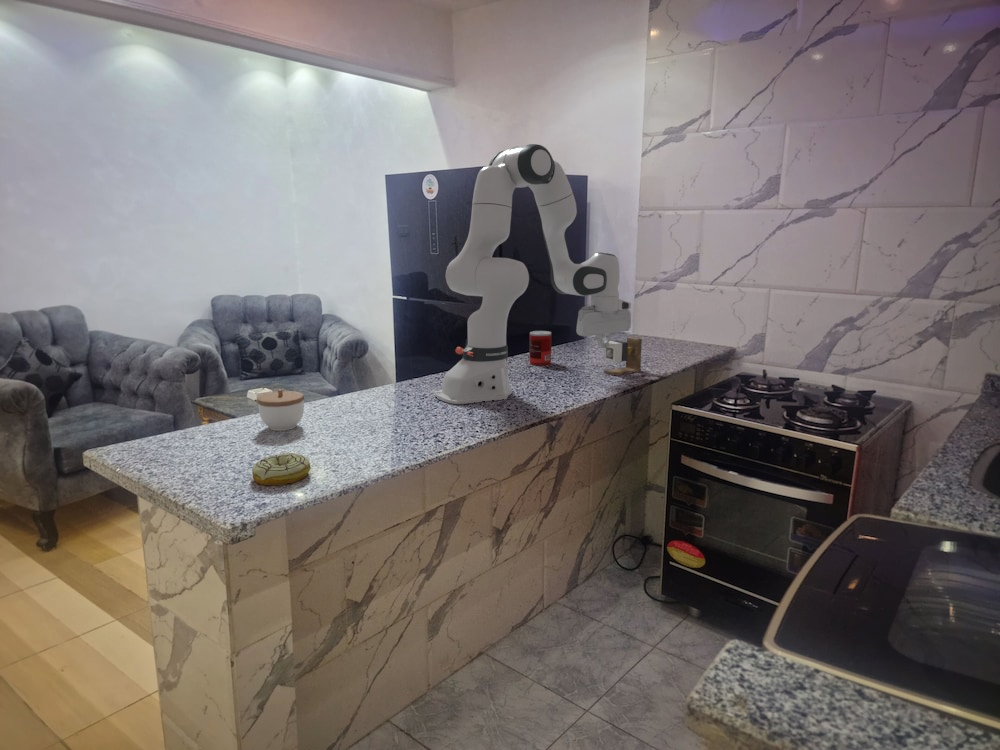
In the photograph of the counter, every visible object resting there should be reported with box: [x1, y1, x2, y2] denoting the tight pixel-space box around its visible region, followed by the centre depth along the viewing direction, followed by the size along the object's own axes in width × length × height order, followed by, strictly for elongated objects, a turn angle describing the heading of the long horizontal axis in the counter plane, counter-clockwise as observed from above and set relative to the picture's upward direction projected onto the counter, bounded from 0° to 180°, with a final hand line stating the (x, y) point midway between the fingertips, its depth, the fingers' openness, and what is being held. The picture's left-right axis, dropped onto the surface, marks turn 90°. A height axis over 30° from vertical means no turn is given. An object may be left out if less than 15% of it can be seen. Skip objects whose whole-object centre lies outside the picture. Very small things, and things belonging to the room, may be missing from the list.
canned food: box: [529, 330, 553, 366], centre depth 233 cm, size 8×8×11 cm
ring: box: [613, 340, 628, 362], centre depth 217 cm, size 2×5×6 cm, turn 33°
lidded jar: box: [256, 388, 305, 432], centre depth 160 cm, size 11×11×9 cm
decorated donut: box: [251, 452, 311, 487], centre depth 129 cm, size 10×11×4 cm
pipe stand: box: [603, 336, 643, 376], centre depth 218 cm, size 12×5×11 cm, turn 123°
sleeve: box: [603, 340, 623, 363], centre depth 215 cm, size 3×5×6 cm, turn 33°
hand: (603, 347), depth 213 cm, fingers closed
